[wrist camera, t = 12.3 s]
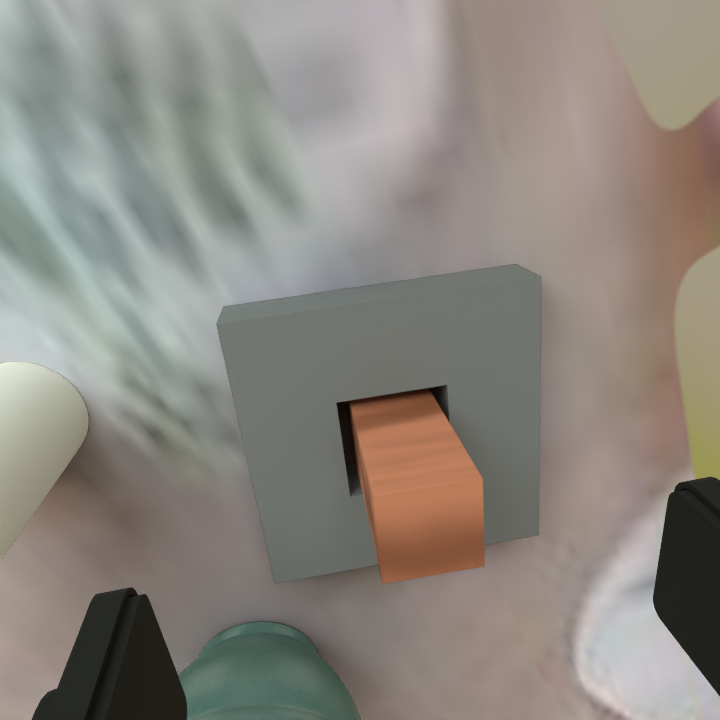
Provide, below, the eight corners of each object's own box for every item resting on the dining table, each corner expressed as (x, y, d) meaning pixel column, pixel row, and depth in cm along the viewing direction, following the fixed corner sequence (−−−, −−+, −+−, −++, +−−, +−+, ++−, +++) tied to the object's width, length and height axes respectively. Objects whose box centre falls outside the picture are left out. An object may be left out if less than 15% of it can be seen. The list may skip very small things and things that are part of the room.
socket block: (223, 306, 32) (216, 324, 29) (516, 264, 33) (541, 276, 30) (275, 547, 39) (275, 583, 36) (518, 504, 40) (538, 535, 37)
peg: (345, 386, 35) (373, 496, 24) (421, 376, 35) (483, 478, 24) (353, 453, 37) (382, 583, 26) (425, 442, 37) (484, 566, 26)
